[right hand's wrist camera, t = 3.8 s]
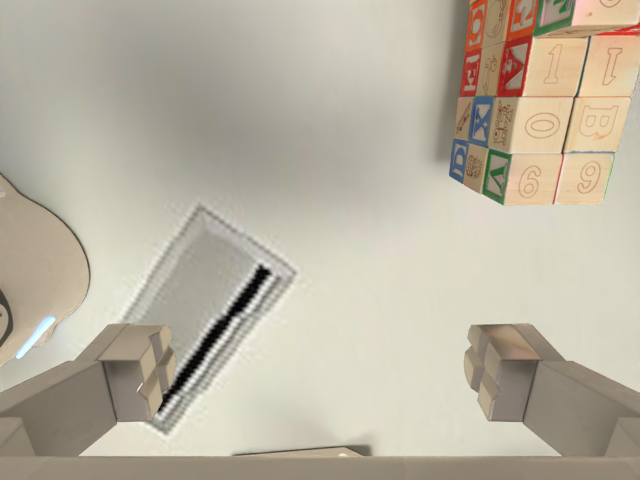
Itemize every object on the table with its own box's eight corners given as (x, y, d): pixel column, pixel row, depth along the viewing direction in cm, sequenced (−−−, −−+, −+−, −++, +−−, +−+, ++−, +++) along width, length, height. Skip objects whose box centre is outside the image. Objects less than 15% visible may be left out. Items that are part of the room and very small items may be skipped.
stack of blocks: (521, 176, 31) (644, 223, 20) (446, 176, 31) (526, 223, 20) (587, -163, 24) (851, -410, 12) (488, -165, 23) (660, -417, 12)
